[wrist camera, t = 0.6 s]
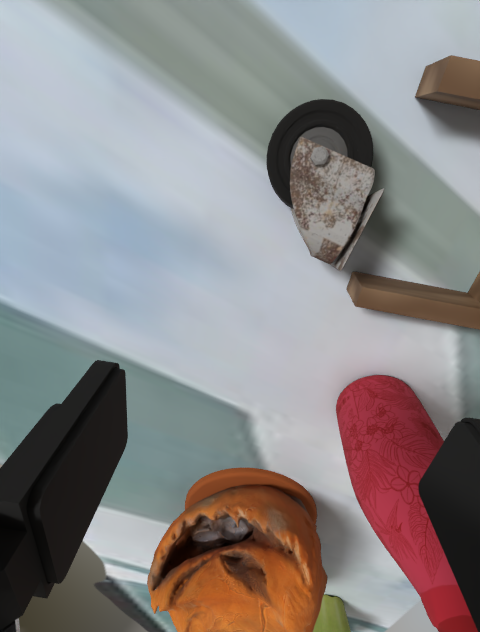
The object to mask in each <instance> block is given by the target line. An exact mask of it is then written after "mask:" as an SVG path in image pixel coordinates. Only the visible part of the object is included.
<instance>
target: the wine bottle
mask: <svg viewBox="0 0 480 632" xmlns="http://www.w3.org/2000/svg"><path fill="white" fill-rule="evenodd" d="M336 413H337V420H338V425H339V431H340V436H341V440H342V445H343V450H344V454H345V459H346V463H347V467H348V471H349V475H350V479H351V483H352V486H353V489H354V492H355V495H356V498H357V500H358V502H359V505H360V507H361V509H362V511H363V512H364V514H365V516H366V518H367V520H368V522H369V523H370V525H371V527H372V528H373V530H374V532H375V533H376V535H377V536H378V538H379V539H380V541H381V542H382V544H383V545H384V546H385V548H386V549H387V551H388V552H389V553H390V555H391V556H392V557H393V559H394V560H395V561H396V563H397V564H398V565H399V567H400V568H401V569H402V571H403V572H404V574H405V575H406V576H407V578H408V579H409V581H410V582H411V584H412V585H413V586H414V588H415V589H416V591H417V592H418V594H419V595H420V597H421V600H422V603H423V605H424V607H425V609H426V612H427V615H428V617H429V619H430V621H431V622H432V624H433V626H434V627H436V628H437V629H438V631H439V632H478V630H477V628H476V626H475V623H474V621H473V619H472V616H471V614H470V612H469V609H468V607H467V605H466V602H465V600H464V598H463V595H462V593H461V591H460V588H459V586H458V584H457V581H456V579H455V577H454V574H453V572H452V570H451V567H450V565H449V563H448V560H447V558H446V556H445V553H444V551H443V549H442V546H441V544H440V542H439V539H438V537H437V535H436V532H435V530H434V528H433V525H432V523H431V521H430V518H429V516H428V514H427V511H426V509H425V507H424V504H423V502H422V500H421V497H420V495H419V490H418V486H419V482H420V480H421V478H422V477H423V475H424V473H425V472H426V470H427V469H428V467H429V465H430V464H431V462H432V460H433V459H434V457H435V456H436V454H437V452H438V451H439V449H440V448H441V446H442V444H443V443H444V441H443V439H442V437H441V436H440V434H439V432H438V430H437V429H436V427H435V425H434V424H433V422H432V420H431V419H430V417H429V415H428V414H427V412H426V411H425V409H424V407H423V406H422V404H421V402H420V401H419V399H418V398H417V396H416V395H415V393H414V392H413V391H412V389H411V388H410V387H409V386H408V385H407V384H405V383H404V382H403V381H401V380H399V379H397V378H394V377H390V376H385V375H373V376H367V377H363V378H361V379H358V380H356V381H354V382H352V383H351V384H349V385H348V386H347V387H346V388H345V389H344V390H343V391H342V393H341V394H340V396H339V398H338V400H337V405H336Z"/></svg>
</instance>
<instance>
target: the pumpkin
mask: <svg viewBox="0 0 480 632" xmlns="http://www.w3.org/2000/svg"><path fill="white" fill-rule="evenodd" d="M316 519H317V510H316V505H315V502H314V500H313V498H312V496H311V495H310V494H309V492H308V491H307V490H306V489H305V488H304V487H303V486H301V485H300V484H299V483H297V482H295V481H294V480H292V479H290V478H288V477H286V476H284V475H281V474H278V473H275V472H272V471H268V470H263V469H256V468H232V469H226V470H221V471H217V472H214V473H211V474H209V475H207V476H205V477H203V478H201V479H200V480H198V481H197V482H196V483H195V484H194V485H193V486H192V487H191V489H190V490H189V492H188V494H187V497H186V501H185V511H184V512H183V513H182V514H181V515H180V516H179V517H178V518H177V519H176V520H175V521H173V523H172V524H171V525H170V527H169V528H168V530H167V532H166V533H165V535H164V536H163V538H162V540H161V541H160V543H159V545H158V547H157V549H156V551H155V554H154V559H153V562H152V565H151V568H150V573H149V575H148V581H147V582H148V583H147V584H148V589H149V593H150V595H151V607H152V609H153V611H154V614H155V613H156V611H157V608H158V606H159V610H160V612H161V611H168V612H169V613H170V616H171V618H172V621H173V623H174V625H175V627H176V629H177V631H178V632H313V630H314V626H315V623H316V620H317V618H318V615H319V612H320V609H321V604H322V598H323V595H324V592H325V589H326V584H327V575H326V573H325V570H324V568H323V567H322V560H321V543H320V539H319V537H318V534H317V532H316V527H317V526H316V525H315V524H316ZM155 589H156V590H155Z"/></svg>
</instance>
